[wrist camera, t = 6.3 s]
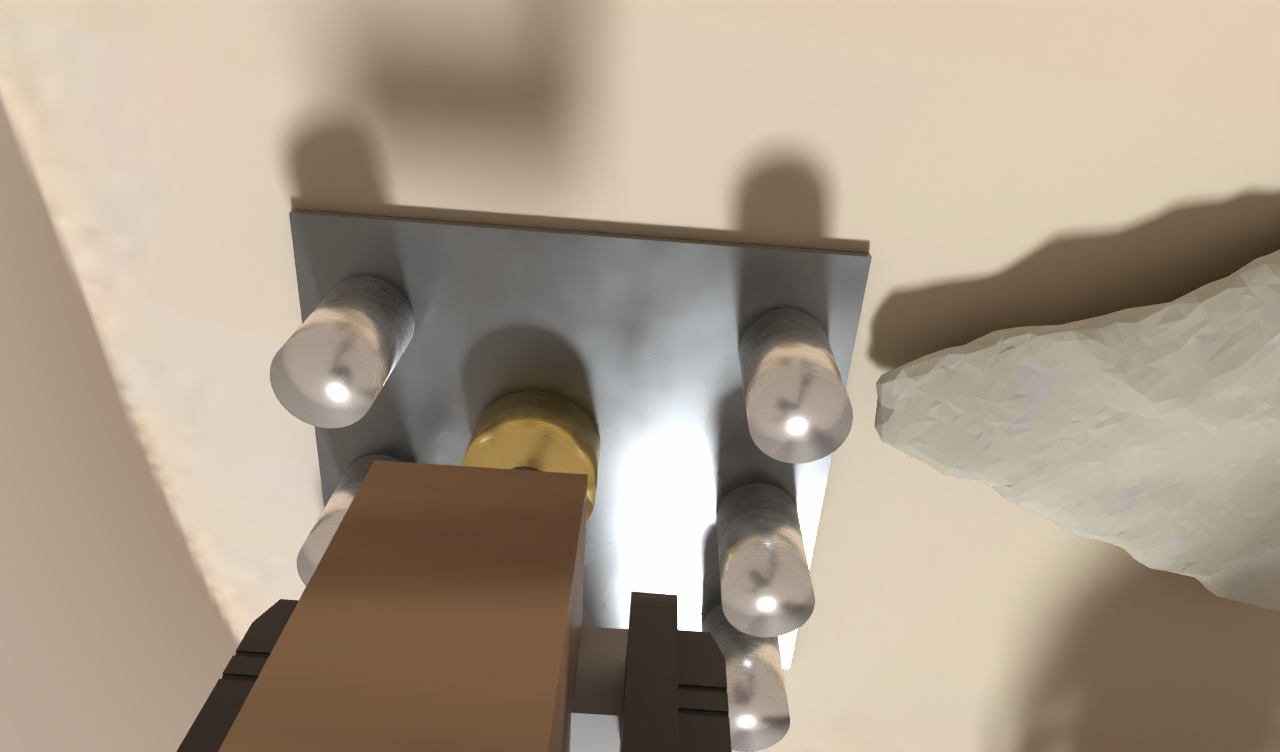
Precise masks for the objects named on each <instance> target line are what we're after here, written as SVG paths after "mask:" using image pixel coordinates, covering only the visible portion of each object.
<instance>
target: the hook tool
mask: <svg viewBox="0 0 1280 752" xmlns="http://www.w3.org/2000/svg"><path fill="white" fill-rule="evenodd" d="M587 483H588V474H575V473H560V472H545V471H530V470H515V469H500V468H484V467H469V466H454V465H439V464H424V463H409V462H394V461H379V460H374V461H373V463H372V465H371V467H370V469H369V471H368V473H367V474H366V476H365V478H364V480H363V482H362V484H361V486H360V487H359V489H358V491H357V493H356V495H355V497H354V499H353V501H352V502H351V504H350V506H349V508H348V510H347V512H346V514H345V515H344V517H343V519H342V521H341V523H340V525H339V527H338V529H337V530H336V532H335V534H334V536H333V538H332V540H331V542H330V543H329V545H328V547H327V549H326V551H325V553H324V555H323V557H322V558H321V560H320V562H319V564H318V566H317V568H316V570H315V572H314V573H313V575H312V577H311V579H310V581H309V583H308V585H307V586H306V588H305V590H304V592H303V594H302V596H301V598H300V600H299V601H298V603H297V605H296V607H295V609H294V611H293V613H292V614H291V616H290V618H289V620H288V622H287V624H286V626H285V628H284V629H283V631H282V633H281V635H280V637H279V639H278V641H277V642H276V644H275V646H274V648H273V650H272V652H271V654H270V656H269V657H268V659H267V661H266V663H265V665H264V667H263V669H262V670H261V672H260V674H259V676H258V678H257V680H256V682H255V684H254V685H253V687H252V689H251V691H250V693H249V695H248V697H247V698H246V700H245V702H244V704H243V706H242V708H241V710H240V712H239V713H238V715H237V717H236V719H235V721H234V723H233V725H232V726H231V728H230V730H229V732H228V734H227V736H226V738H225V740H224V741H223V743H222V745H221V747H220V749H219V751H218V752H619V751H620V737H621V724H622V711H623V695H624V680H625V665H626V651H627V639H628V629H618V628H603V627H588V626H582V610H583V584H584V559H585V534H586V508H587Z"/></svg>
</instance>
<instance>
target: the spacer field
mask: <svg viewBox="0 0 1280 752" xmlns="http://www.w3.org/2000/svg"><path fill="white" fill-rule="evenodd" d="M289 215H290V224H291V232H292V240H293V249H294V257H295V265H296V274H297V282H298V290H299V299H300V307H301V315H302V325H301V326H300V327H299V328H298V329H297V330H296V332H295V333H294V334H293V335H292V336H291V337H290V338H289V340H288V341H287V342H286V343H285V344H284V345H283V346H282V347H281V349H280V350H279V351H278V352H277V353H276V355H275V356H274V358H273V361H272V363H271V367H270V381H271V386H272V388H273V391H274V393H275V395H276V397H277V399H278V400H279V402H280V403H281V404H282V405H283V407H284V408H285V409H286V410H287V411H288V412H290V413H291V414H292V415H293V416H295V417H296V418H298V419H300V420H301V421H303V422H305V423H308V424H310V425H313V426H315V432H316V441H317V449H318V457H319V466H320V474H321V483H322V491H323V499H324V510H323V512H322V513H321V515H320V517H319V519H318V520H317V522H316V524H315V526H314V527H313V529H312V531H311V532H310V534H309V536H308V538H307V539H306V541H305V543H304V545H303V546H302V548H301V550H300V552H299V554H298V557H297V569H298V573H299V576H300V578H301V579H302V581H303V583H304V584H305V585H306V586H307V585H308V583H309V581H310V579H311V577H312V575H313V573H314V572H315V570H316V568H317V566H318V564H319V562H320V560H321V558H322V557H323V555H324V553H325V551H326V549H327V547H328V545H329V543H330V542H331V540H332V538H333V536H334V534H335V532H336V530H337V529H338V527H339V525H340V523H341V521H342V519H343V517H344V515H345V514H346V512H347V510H348V508H349V506H350V504H351V502H352V501H353V499H354V497H355V495H356V493H357V491H358V489H359V487H360V486H361V484H362V482H363V480H364V478H365V476H366V474H367V473H368V471H369V469H370V467H371V465H372V463H373V461H374V460H379V461H394V462H409V463H424V464H439V465H454V466H461V463H462V461H463V458H464V455H465V453H466V450H467V447H468V445H469V442H470V439H471V437H472V434H473V431H474V429H475V426H476V424H477V421H478V420H479V418H480V416H481V415H482V414H483V412H484V411H485V410H486V409H487V408H488V407H489V406H490V405H491V404H493V403H494V402H496V401H497V400H499V399H501V398H503V397H505V396H508V395H511V394H514V393H519V392H527V391H539V392H546V393H550V394H554V395H557V396H560V397H562V398H565V399H567V400H569V401H570V402H572V403H574V404H575V405H577V406H578V407H579V408H580V409H582V410H583V411H584V412H585V413H586V414H587V415H588V417H589V418H590V419H591V421H592V422H593V424H594V425H595V427H596V429H597V431H598V434H599V437H600V442H601V458H600V466H599V473H598V481H597V488H596V496H595V503H594V508H593V511H592V514H591V516H590V517H589V519H588V521H587V522H586V534H585V559H584V584H583V610H582V626H588V627H603V628H618V629H628V626H629V614H630V602H631V591H634V592H648V593H661V594H674V595H678V630H691V631H704V632H710V633H711V635H712V636H713V638H714V640H715V642H716V643H717V645H718V647H719V648H720V650H721V652H722V654H723V655H724V657H725V661H726V676H727V693H728V706H729V721H730V736H731V750H736V751H746V752H748V751H758V750H762V749H765V748H768V747H770V746H772V745H774V744H776V743H777V742H779V741H780V740H781V739H782V738H783V737H784V736H785V734H786V733H787V731H788V729H789V725H790V717H789V710H788V703H787V695H786V688H785V681H784V674H783V669H790V664H791V659H792V654H793V649H794V644H795V639H796V634H797V629H798V628H799V627H801V626H802V625H803V624H804V623H805V622H806V621H807V620H808V619H809V617H810V616H811V614H812V612H813V609H814V604H815V597H814V592H813V587H812V582H811V577H810V572H809V569H810V564H811V559H812V554H813V549H814V544H815V539H816V534H817V529H818V524H819V519H820V514H821V509H822V503H823V498H824V493H825V488H826V483H827V478H828V473H829V468H830V463H831V458H832V453H833V452H834V451H835V450H836V449H837V448H838V447H839V446H841V444H842V443H843V442H844V441H845V439H846V438H847V436H848V434H849V432H850V429H851V426H852V421H853V411H852V406H851V403H850V400H849V397H848V395H847V392H846V389H845V388H846V383H847V378H848V373H849V368H850V363H851V358H852V353H853V348H854V343H855V338H856V333H857V328H858V323H859V318H860V313H861V308H862V303H863V298H864V293H865V288H866V283H867V278H868V273H869V268H870V263H871V258H872V257H871V255H870V253H858V252H845V251H832V250H819V249H806V248H793V247H779V246H766V245H753V244H740V243H727V242H714V241H700V240H687V239H674V238H661V237H648V236H635V235H621V234H608V233H595V232H582V231H569V230H555V229H542V228H529V227H516V226H503V225H490V224H476V223H463V222H450V221H437V220H424V219H411V218H397V217H384V216H371V215H358V214H345V213H332V212H318V211H305V210H292V211H291V212H290V213H289Z"/></svg>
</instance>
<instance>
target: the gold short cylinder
mask: <svg viewBox="0 0 1280 752" xmlns="http://www.w3.org/2000/svg"><path fill="white" fill-rule="evenodd" d="M600 458H601V442H600V437H599V434H598V431H597V429H596V427H595V425H594V424H593V422H592V421H591V419H590V418H589V417H588V415H587V414H586V413H585V412H584V411H583V410H582V409H580V408H579V407H578V406H577V405H575V404H574V403H572V402H570V401H569V400H567V399H565V398H562V397H560V396H557V395H554V394H550V393H546V392H539V391H527V392H519V393H514V394H511V395H508V396H505V397H503V398H501V399H499V400H497V401H496V402H494V403H493V404H491V405H490V406H489V407H488V408H487V409H486V410H485V411H484V412H483V414H482V415H481V416H480V418H479V420H478V421H477V424H476V426H475V429H474V431H473V434H472V437H471V439H470V442H469V445H468V447H467V450H466V453H465V455H464V458H463V461H462V463H461V466H469V467H484V468H500V469H515V470H530V471H545V472H560V473H575V474H588V483H587V508H586V522H587V521H588V519H589V517H590V516H591V514H592V511H593V508H594V503H595V496H596V488H597V481H598V473H599V466H600Z"/></svg>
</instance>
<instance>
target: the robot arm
mask: <svg viewBox="0 0 1280 752" xmlns="http://www.w3.org/2000/svg"><path fill="white" fill-rule="evenodd" d="M297 603H298V601H297V600H283V599H280V600H279V601H278V602H277V603H275V604H274V605H273V606H272V607H271V608H269V609H268V610H267V611H266V612H265V613H263V614H262V615H261V616H260V617H259V618H257V619H256V620H255V621H254V622H253V623H252V624H251V626H250V628H249V629H248V631H247V633H246V634H245V636H244V638H243V640H242V641H241V643H240V645H239V646H238V648H237V650H236V655H235V656H233V657H232V658H231V660H230V662H229V664H228V666H227V667H226V668H225V670H224V672H223V677H222V679H219V680H218V682H217V684H216V686H215V687H214V689H213V691H212V692H211V694H210V696H209V698H208V699H207V701H206V703H205V704H204V706H203V708H202V709H201V711H200V713H199V715H198V716H197V718H196V720H195V721H194V723H193V725H192V727H191V728H190V730H189V732H188V733H187V735H186V737H185V738H184V740H183V742H182V744H181V745H180V747H179V749H178V750H177V752H218V751H219V749H220V747H221V745H222V743H223V741H224V740H225V738H226V736H227V734H228V732H229V730H230V728H231V726H232V725H233V723H234V721H235V719H236V717H237V715H238V713H239V712H240V710H241V708H242V706H243V704H244V702H245V700H246V698H247V697H248V695H249V693H250V691H251V689H252V687H253V685H254V684H255V682H256V680H257V678H258V676H259V674H260V672H261V670H262V669H263V667H264V665H265V663H266V661H267V659H268V657H269V656H270V654H271V652H272V650H273V648H274V646H275V644H276V642H277V641H278V639H279V637H280V635H281V633H282V631H283V629H284V628H285V626H286V624H287V622H288V620H289V618H290V616H291V614H292V613H293V611H294V609H295V607H296V605H297ZM619 752H732V751H731V736H730V721H729V706H728V693H727V676H726V661H725V657H724V655H723V654H722V652H721V650H720V648H719V647H718V645H717V643H716V642H715V640H714V638H713V636H712V635H711V633H710V632H704V631H691V630H678V595H674V594H661V593H648V592H634V591H631V602H630V614H629V626H628V639H627V651H626V665H625V680H624V695H623V711H622V724H621V737H620V751H619Z"/></svg>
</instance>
